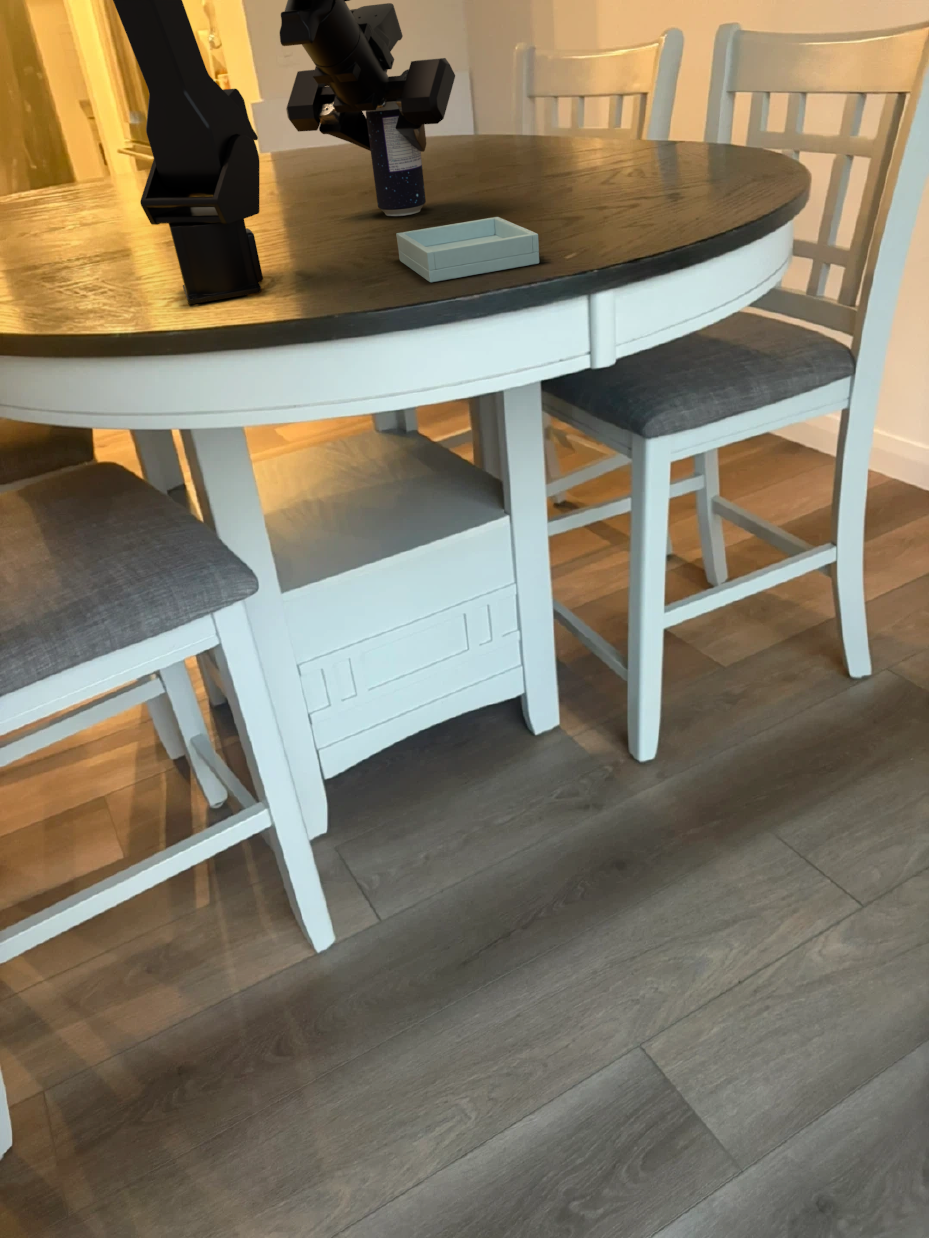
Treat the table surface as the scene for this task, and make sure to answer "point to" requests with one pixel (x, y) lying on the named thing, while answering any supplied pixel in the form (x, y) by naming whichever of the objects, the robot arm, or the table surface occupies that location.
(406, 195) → the beverage can
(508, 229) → the rectangular tray
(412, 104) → the robot arm
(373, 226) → the table surface
